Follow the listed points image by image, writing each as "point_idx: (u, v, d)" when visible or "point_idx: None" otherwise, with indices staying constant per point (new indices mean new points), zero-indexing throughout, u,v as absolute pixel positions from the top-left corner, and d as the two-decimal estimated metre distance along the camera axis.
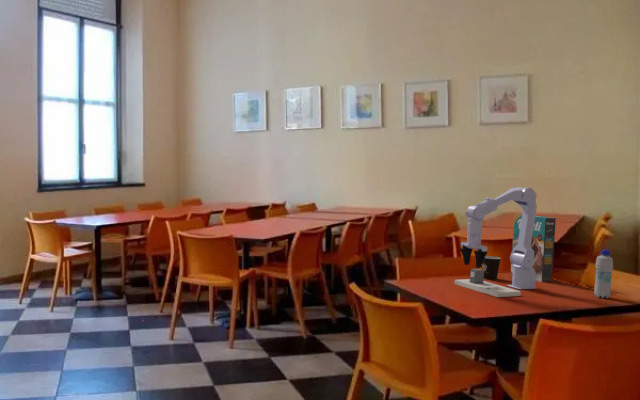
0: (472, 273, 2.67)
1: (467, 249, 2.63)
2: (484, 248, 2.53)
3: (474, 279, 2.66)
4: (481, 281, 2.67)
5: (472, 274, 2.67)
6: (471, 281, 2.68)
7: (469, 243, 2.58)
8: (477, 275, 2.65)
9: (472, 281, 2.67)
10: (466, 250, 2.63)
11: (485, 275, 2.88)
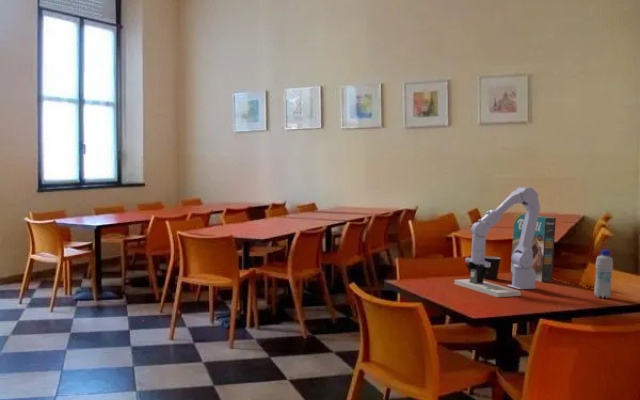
0: (472, 273, 2.67)
1: (473, 265, 2.70)
2: (488, 264, 2.61)
3: (474, 279, 2.66)
4: None
5: (472, 274, 2.67)
6: (471, 281, 2.68)
7: (473, 259, 2.66)
8: None
9: (472, 281, 2.67)
10: (472, 266, 2.69)
11: (485, 275, 2.88)
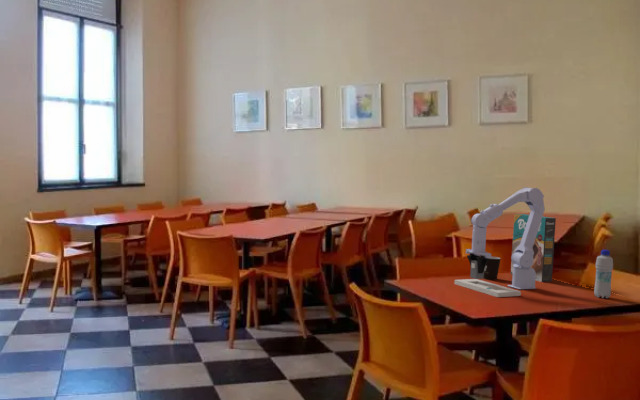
0: (473, 264, 2.67)
1: (474, 256, 2.69)
2: (488, 255, 2.61)
3: (475, 271, 2.66)
4: None
5: (473, 265, 2.67)
6: (472, 272, 2.68)
7: (474, 250, 2.66)
8: (477, 266, 2.65)
9: (473, 272, 2.67)
10: (473, 257, 2.69)
11: (485, 275, 2.88)
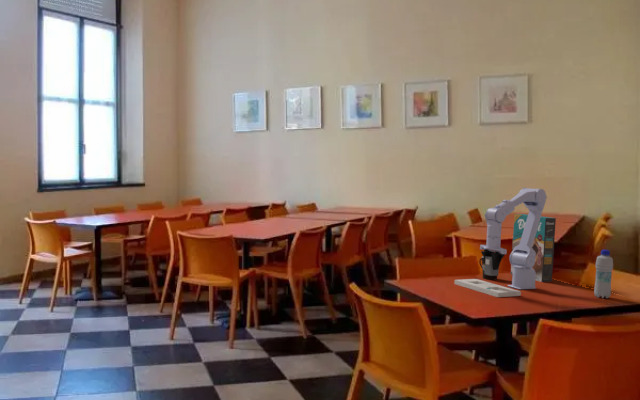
0: (487, 260, 2.58)
1: (489, 252, 2.61)
2: (504, 251, 2.52)
3: (489, 267, 2.57)
4: None
5: (487, 261, 2.58)
6: (486, 269, 2.59)
7: (488, 246, 2.57)
8: (492, 263, 2.57)
9: (487, 269, 2.59)
10: (488, 253, 2.61)
11: (485, 275, 2.88)
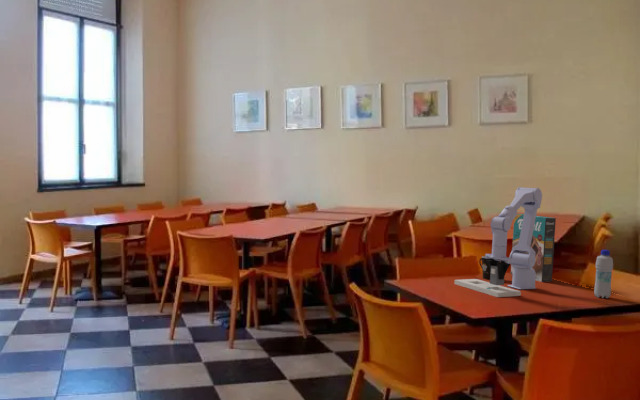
0: (493, 270, 2.55)
1: (494, 261, 2.58)
2: (510, 260, 2.49)
3: (495, 277, 2.54)
4: None
5: (493, 271, 2.55)
6: (491, 278, 2.56)
7: (494, 255, 2.54)
8: None
9: (492, 278, 2.55)
10: (493, 262, 2.57)
11: (485, 275, 2.88)
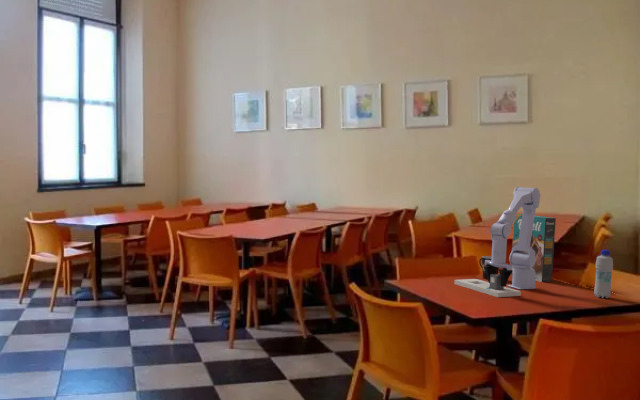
0: (492, 279, 2.55)
1: (491, 267, 2.59)
2: (509, 267, 2.49)
3: (494, 285, 2.54)
4: (501, 287, 2.55)
5: (492, 280, 2.55)
6: (491, 287, 2.56)
7: (494, 261, 2.54)
8: (497, 281, 2.54)
9: (492, 287, 2.56)
10: (490, 268, 2.59)
11: (485, 275, 2.88)
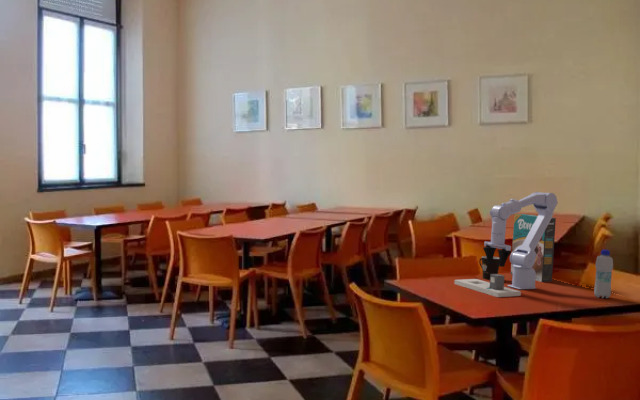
0: (492, 279, 2.55)
1: (490, 248, 2.67)
2: (508, 247, 2.57)
3: (494, 285, 2.54)
4: (501, 287, 2.55)
5: (492, 280, 2.55)
6: (491, 287, 2.56)
7: (493, 242, 2.62)
8: (497, 281, 2.54)
9: (492, 287, 2.56)
10: (489, 249, 2.66)
11: (485, 275, 2.88)
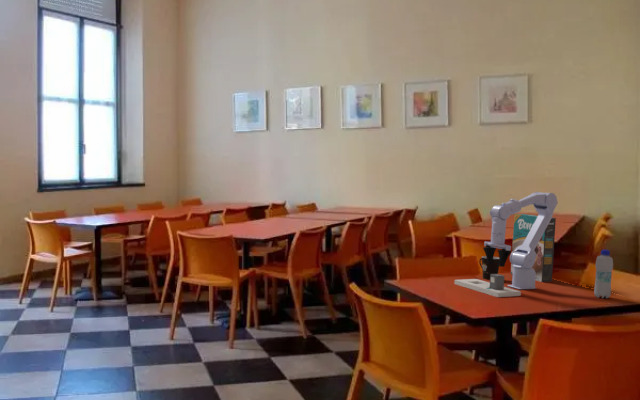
0: (492, 279, 2.55)
1: (490, 248, 2.67)
2: (508, 247, 2.57)
3: (494, 285, 2.54)
4: (501, 287, 2.55)
5: (492, 280, 2.55)
6: (491, 287, 2.56)
7: (493, 242, 2.62)
8: (497, 281, 2.54)
9: (492, 287, 2.56)
10: (489, 249, 2.66)
11: (485, 275, 2.88)
